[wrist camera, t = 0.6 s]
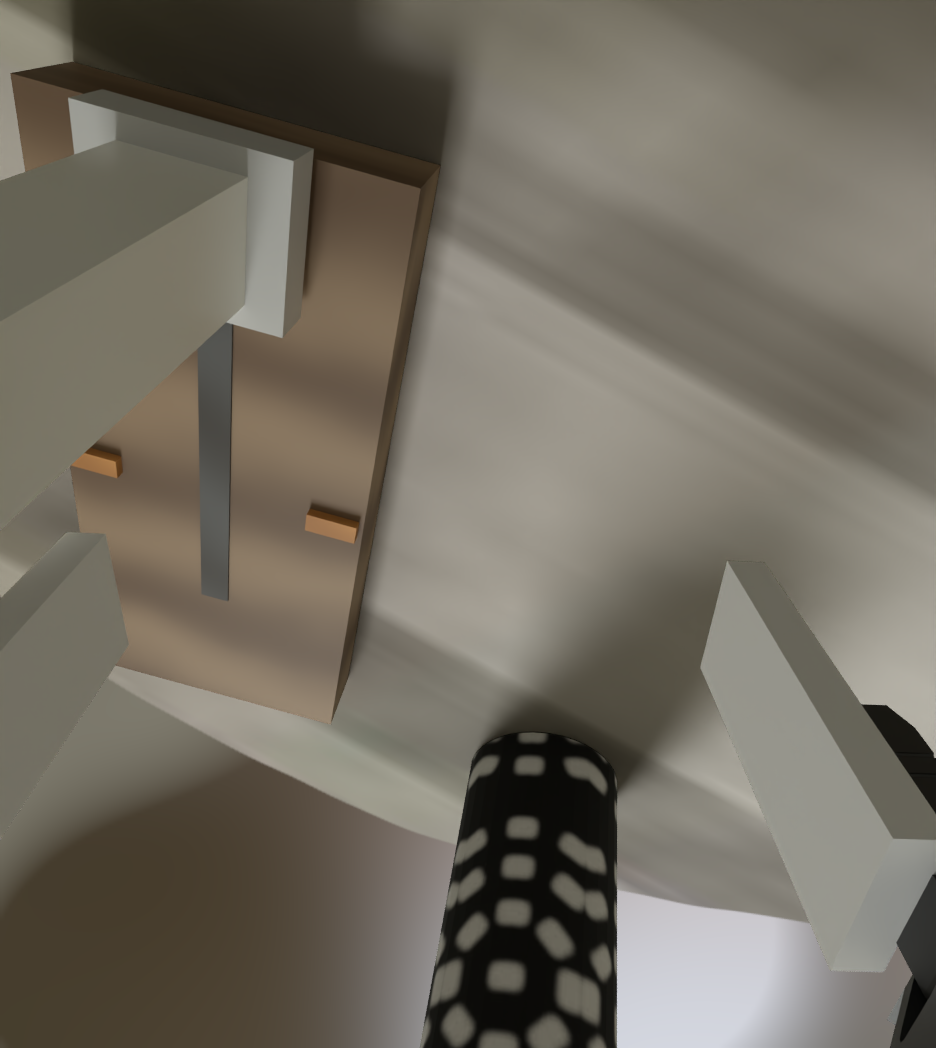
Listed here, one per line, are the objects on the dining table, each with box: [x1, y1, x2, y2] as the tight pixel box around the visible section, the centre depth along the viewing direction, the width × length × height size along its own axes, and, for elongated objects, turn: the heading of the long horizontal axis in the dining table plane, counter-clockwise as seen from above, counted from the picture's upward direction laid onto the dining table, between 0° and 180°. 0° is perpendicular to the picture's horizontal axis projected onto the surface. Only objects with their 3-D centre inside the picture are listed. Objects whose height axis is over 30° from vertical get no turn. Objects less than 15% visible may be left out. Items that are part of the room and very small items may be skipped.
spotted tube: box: [420, 732, 617, 1048], centre depth 34 cm, size 8×8×20 cm
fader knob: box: [0, 89, 314, 599], centre depth 16 cm, size 5×6×16 cm
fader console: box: [11, 62, 441, 724], centre depth 30 cm, size 26×12×3 cm, turn 167°
